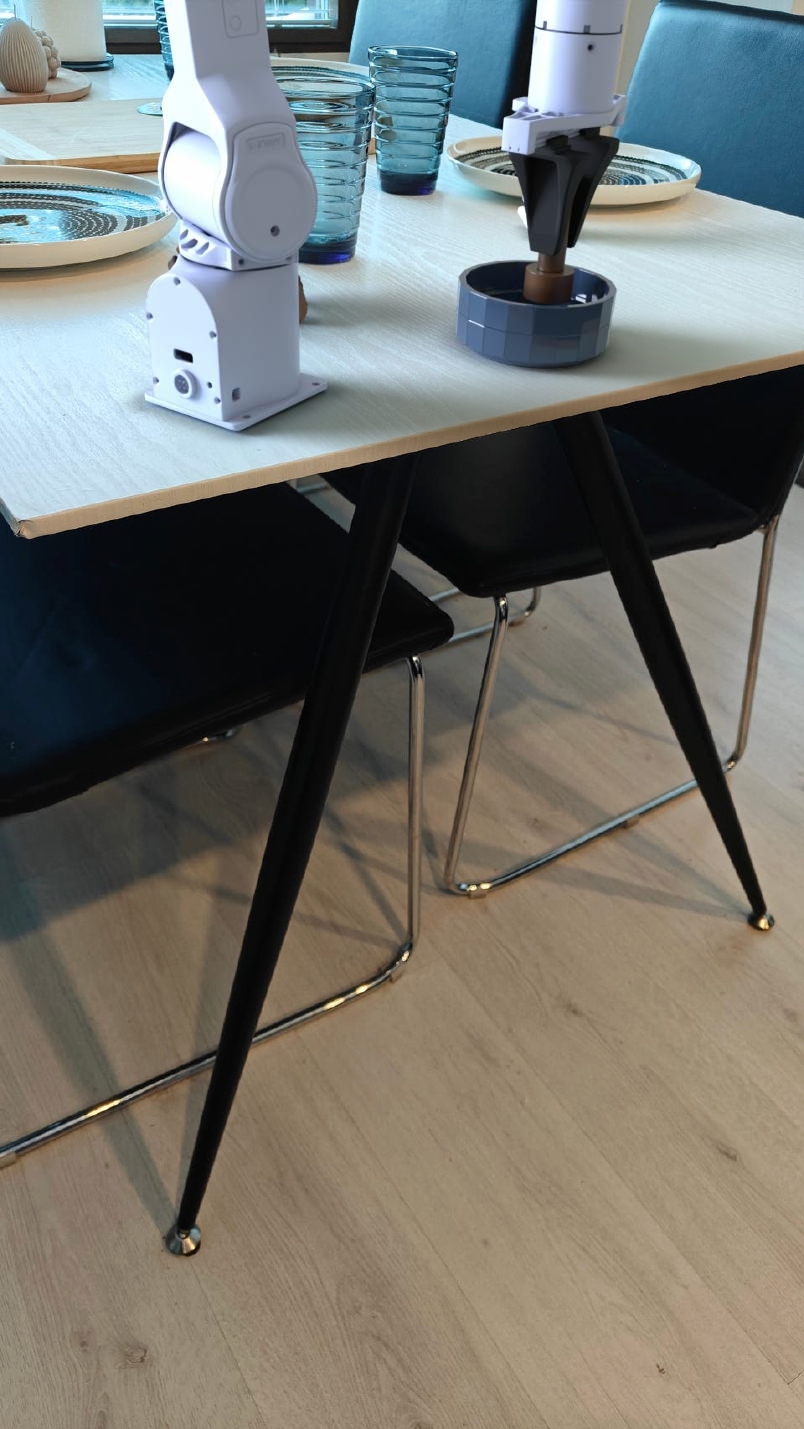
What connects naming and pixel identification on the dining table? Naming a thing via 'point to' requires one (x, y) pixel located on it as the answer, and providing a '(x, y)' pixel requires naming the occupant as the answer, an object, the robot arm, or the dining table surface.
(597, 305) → the bowl
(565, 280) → the muddler
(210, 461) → the dining table surface
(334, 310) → the dining table surface
